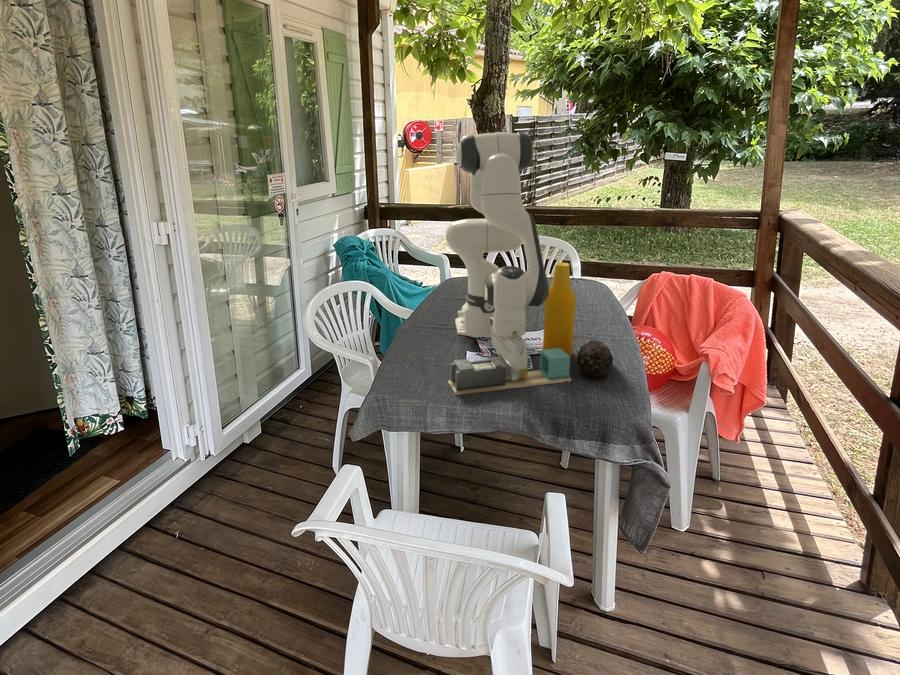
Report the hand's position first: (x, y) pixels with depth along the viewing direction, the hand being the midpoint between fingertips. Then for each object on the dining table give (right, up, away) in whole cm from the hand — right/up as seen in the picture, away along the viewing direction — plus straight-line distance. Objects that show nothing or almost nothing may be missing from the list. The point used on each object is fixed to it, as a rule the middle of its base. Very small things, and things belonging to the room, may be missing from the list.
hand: (508, 372), depth 178 cm
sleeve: (-9, -4, -1) cm, 9 cm away
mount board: (0, -3, +1) cm, 3 cm away
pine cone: (+26, 0, +8) cm, 27 cm away
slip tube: (-5, -2, -1) cm, 5 cm away
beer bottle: (+17, +4, +21) cm, 27 cm away
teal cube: (+14, -1, +4) cm, 14 cm away
